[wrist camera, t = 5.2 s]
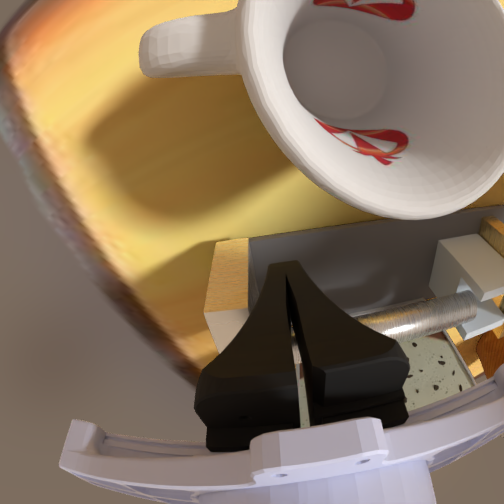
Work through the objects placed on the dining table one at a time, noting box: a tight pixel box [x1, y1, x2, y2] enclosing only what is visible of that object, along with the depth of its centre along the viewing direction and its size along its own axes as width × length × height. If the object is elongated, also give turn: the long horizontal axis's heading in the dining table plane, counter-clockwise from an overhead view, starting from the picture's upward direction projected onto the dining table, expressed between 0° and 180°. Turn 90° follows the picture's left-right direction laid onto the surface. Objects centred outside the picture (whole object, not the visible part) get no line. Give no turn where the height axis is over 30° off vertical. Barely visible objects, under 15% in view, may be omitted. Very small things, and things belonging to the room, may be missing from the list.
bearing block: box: [429, 234, 504, 340], centre depth 14 cm, size 4×4×6 cm
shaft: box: [203, 237, 477, 364], centre depth 13 cm, size 6×13×5 cm, turn 99°
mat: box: [248, 205, 504, 326], centre depth 16 cm, size 7×21×1 cm, turn 99°
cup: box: [139, 0, 504, 220], centre depth 7 cm, size 11×8×8 cm
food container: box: [296, 297, 477, 428], centre depth 16 cm, size 12×6×10 cm, turn 100°
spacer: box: [478, 216, 504, 339], centre depth 13 cm, size 6×1×5 cm, turn 9°
